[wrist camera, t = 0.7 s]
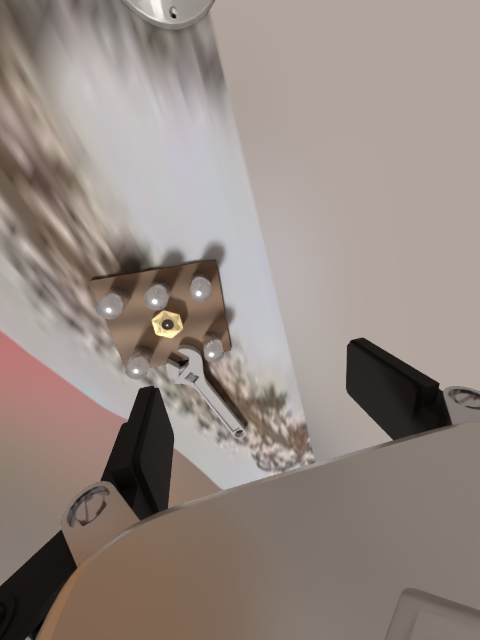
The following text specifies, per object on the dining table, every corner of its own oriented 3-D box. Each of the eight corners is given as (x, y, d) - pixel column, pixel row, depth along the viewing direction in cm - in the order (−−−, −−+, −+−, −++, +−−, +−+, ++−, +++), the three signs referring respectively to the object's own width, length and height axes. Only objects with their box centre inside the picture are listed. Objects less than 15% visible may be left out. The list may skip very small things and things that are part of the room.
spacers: (104, 289, 34) (91, 299, 29) (207, 271, 36) (210, 278, 31) (133, 363, 39) (125, 382, 35) (221, 344, 41) (225, 360, 36)
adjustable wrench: (246, 428, 51) (248, 435, 49) (220, 440, 51) (220, 448, 49) (193, 339, 39) (193, 345, 38) (158, 355, 39) (157, 361, 38)
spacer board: (91, 280, 33) (90, 280, 33) (215, 259, 36) (215, 259, 35) (127, 371, 40) (127, 372, 40) (230, 348, 42) (231, 350, 42)
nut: (147, 320, 37) (145, 325, 35) (170, 300, 36) (169, 305, 34) (167, 337, 38) (165, 343, 37) (189, 319, 38) (189, 324, 36)
